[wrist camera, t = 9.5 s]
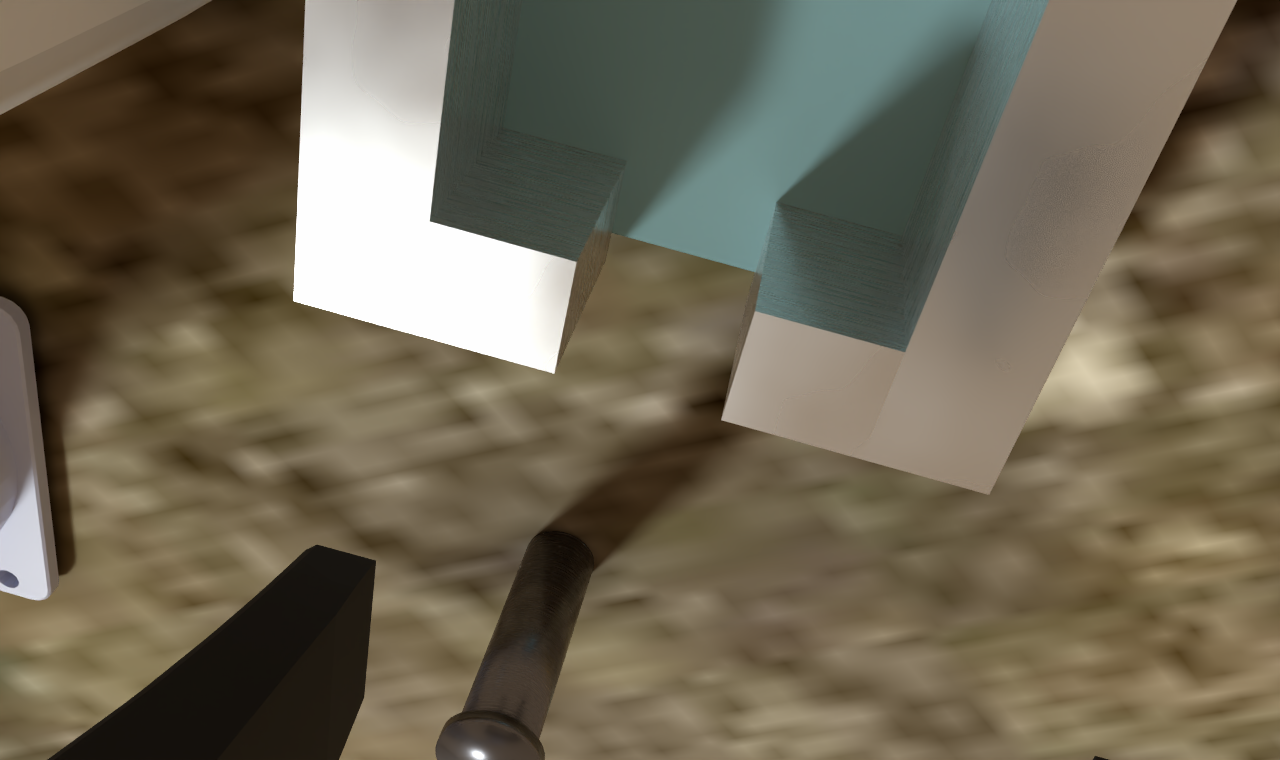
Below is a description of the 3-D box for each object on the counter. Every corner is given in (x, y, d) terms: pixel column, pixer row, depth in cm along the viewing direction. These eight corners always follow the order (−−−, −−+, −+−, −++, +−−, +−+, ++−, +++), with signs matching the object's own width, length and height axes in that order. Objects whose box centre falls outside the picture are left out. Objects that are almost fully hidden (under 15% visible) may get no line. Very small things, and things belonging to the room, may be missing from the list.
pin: (511, 577, 24) (430, 779, 20) (524, 513, 23) (441, 712, 19) (594, 601, 24) (531, 809, 19) (611, 538, 23) (548, 743, 18)
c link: (384, 200, 19) (293, 300, 16) (450, -567, 13) (329, -626, 10) (972, 361, 19) (988, 494, 16) (1296, -356, 13) (1415, -355, 10)
